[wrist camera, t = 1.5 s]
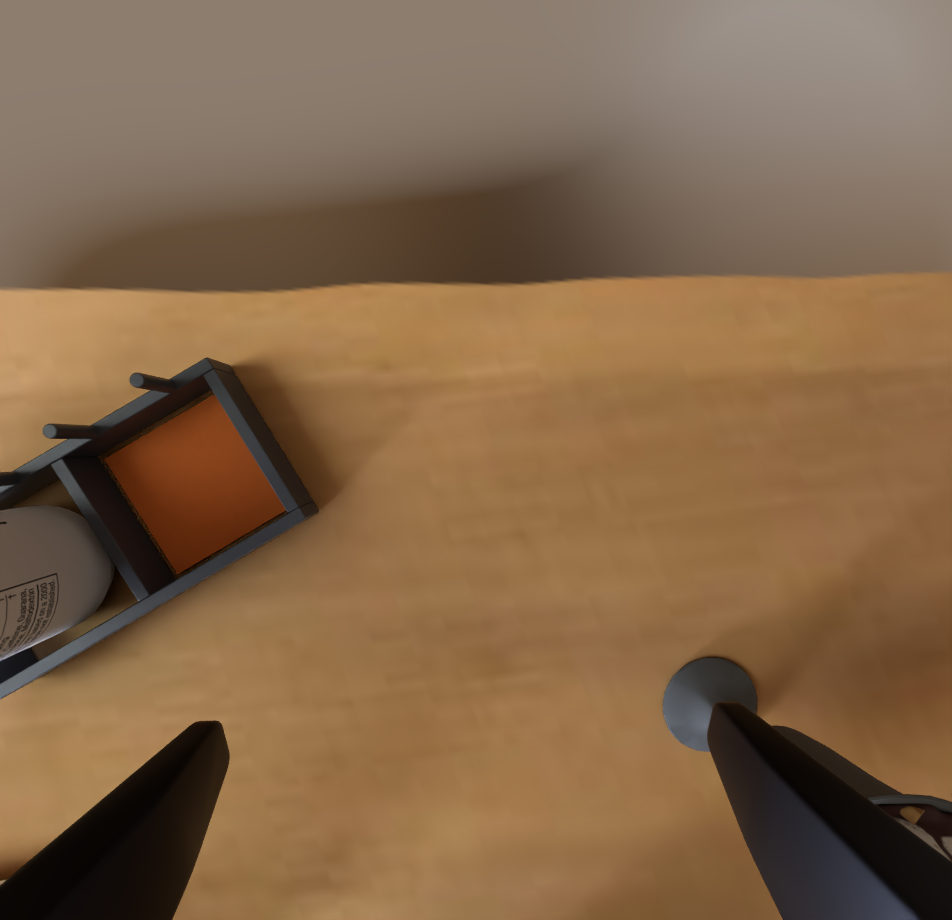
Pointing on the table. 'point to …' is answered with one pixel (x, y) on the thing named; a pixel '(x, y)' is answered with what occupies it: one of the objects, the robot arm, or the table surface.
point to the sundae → (725, 681)
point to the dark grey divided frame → (116, 518)
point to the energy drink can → (47, 574)
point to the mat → (195, 484)
